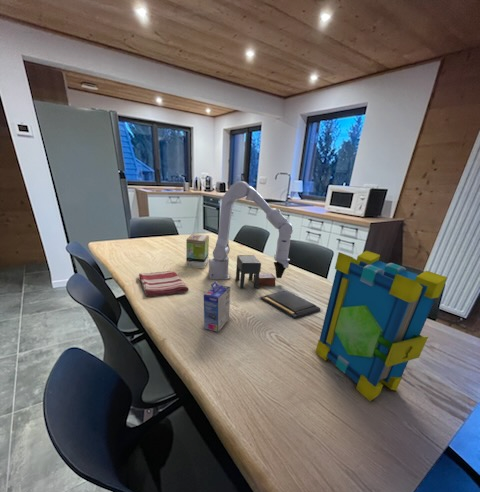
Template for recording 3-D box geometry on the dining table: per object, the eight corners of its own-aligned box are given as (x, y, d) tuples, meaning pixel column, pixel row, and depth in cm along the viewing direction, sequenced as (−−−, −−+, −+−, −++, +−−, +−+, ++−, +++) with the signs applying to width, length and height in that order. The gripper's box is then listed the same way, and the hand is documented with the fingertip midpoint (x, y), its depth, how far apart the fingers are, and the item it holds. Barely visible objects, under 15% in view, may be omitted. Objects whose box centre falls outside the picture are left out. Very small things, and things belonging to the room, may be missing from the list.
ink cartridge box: (215, 315, 94) (216, 277, 87) (229, 318, 92) (231, 280, 86) (202, 328, 85) (202, 287, 79) (218, 332, 84) (220, 290, 77)
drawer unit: (240, 288, 117) (242, 262, 112) (235, 279, 128) (237, 254, 123) (261, 288, 119) (264, 262, 114) (254, 279, 130) (257, 255, 125)
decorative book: (366, 407, 60) (413, 284, 47) (305, 349, 78) (326, 250, 65) (408, 391, 65) (460, 278, 52) (341, 341, 84) (368, 248, 71)
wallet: (322, 306, 102) (294, 314, 94) (321, 310, 103) (293, 319, 95) (287, 288, 117) (260, 294, 109) (286, 291, 118) (259, 298, 110)
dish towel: (146, 297, 103) (146, 291, 102) (138, 277, 121) (137, 271, 120) (188, 292, 110) (188, 286, 109) (174, 273, 129) (174, 268, 127)
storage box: (256, 286, 122) (257, 277, 120) (253, 281, 127) (253, 273, 125) (274, 285, 123) (275, 277, 122) (270, 281, 129) (271, 273, 127)
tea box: (205, 268, 138) (205, 240, 132) (185, 267, 138) (185, 239, 132) (208, 260, 152) (209, 234, 145) (191, 259, 152) (190, 233, 145)
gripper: (297, 253, 114) (292, 283, 120) (285, 245, 127) (281, 272, 132) (281, 253, 112) (277, 283, 118) (271, 245, 125) (268, 272, 131)
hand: (278, 277), depth 125 cm, fingers closed
